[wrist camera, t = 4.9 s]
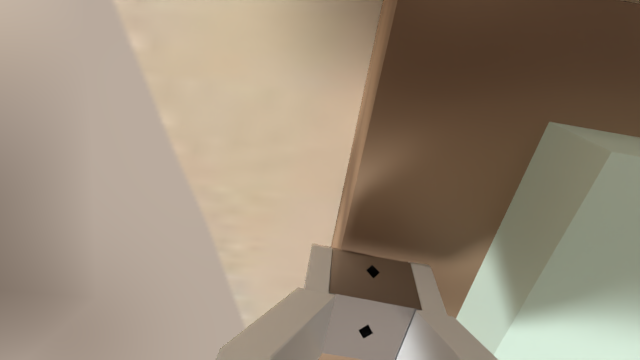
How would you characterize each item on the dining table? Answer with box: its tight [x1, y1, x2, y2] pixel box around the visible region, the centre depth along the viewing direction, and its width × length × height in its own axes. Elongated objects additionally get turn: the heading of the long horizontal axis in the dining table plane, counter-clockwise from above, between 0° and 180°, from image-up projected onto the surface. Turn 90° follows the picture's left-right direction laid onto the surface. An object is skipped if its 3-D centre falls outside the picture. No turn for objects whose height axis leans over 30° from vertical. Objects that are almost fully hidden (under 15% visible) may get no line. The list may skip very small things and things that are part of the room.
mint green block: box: [456, 122, 640, 360], centre depth 9 cm, size 9×6×2 cm, turn 171°
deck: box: [318, 0, 640, 360], centre depth 11 cm, size 14×16×4 cm
